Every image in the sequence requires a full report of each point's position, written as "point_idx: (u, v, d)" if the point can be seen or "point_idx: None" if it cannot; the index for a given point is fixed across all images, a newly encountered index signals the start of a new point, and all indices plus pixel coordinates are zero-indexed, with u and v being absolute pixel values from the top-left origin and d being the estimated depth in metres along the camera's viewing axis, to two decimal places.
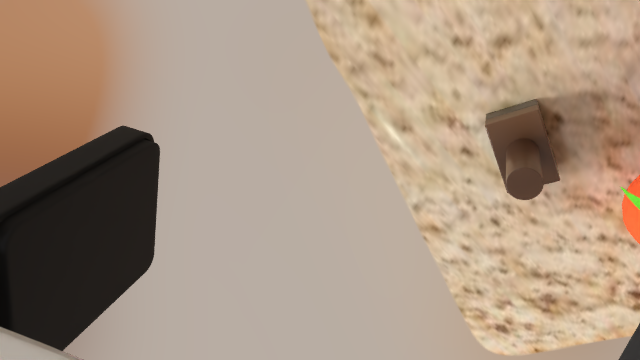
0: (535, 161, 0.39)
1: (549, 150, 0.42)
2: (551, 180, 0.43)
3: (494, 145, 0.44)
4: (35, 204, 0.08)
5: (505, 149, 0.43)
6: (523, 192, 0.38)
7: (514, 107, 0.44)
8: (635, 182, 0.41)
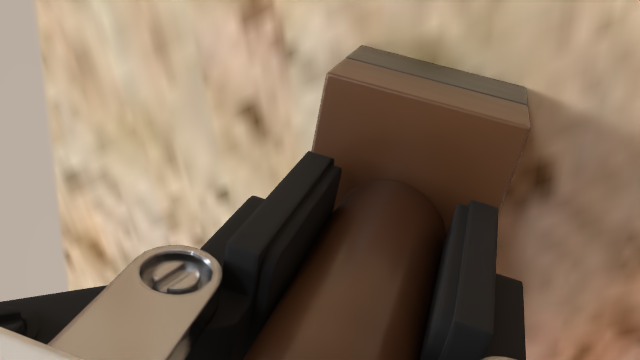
0: (411, 351, 0.08)
1: None
2: None
3: None
4: (283, 232, 0.08)
5: (345, 189, 0.12)
6: None
7: (450, 73, 0.13)
8: None
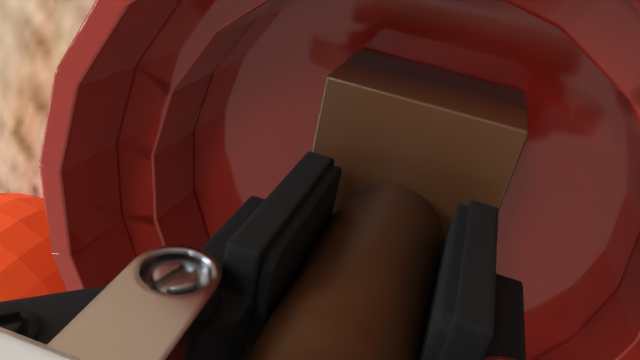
0: (409, 354, 0.08)
1: None
2: None
3: None
4: (283, 232, 0.08)
5: (344, 191, 0.12)
6: None
7: (449, 76, 0.13)
8: None
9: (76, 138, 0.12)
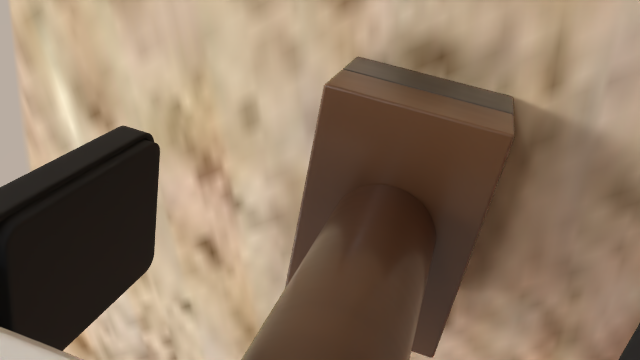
0: (402, 342, 0.09)
1: (460, 271, 0.13)
2: (411, 345, 0.14)
3: (318, 162, 0.12)
4: (35, 204, 0.08)
5: (342, 193, 0.13)
6: None
7: (441, 83, 0.13)
8: None
9: None
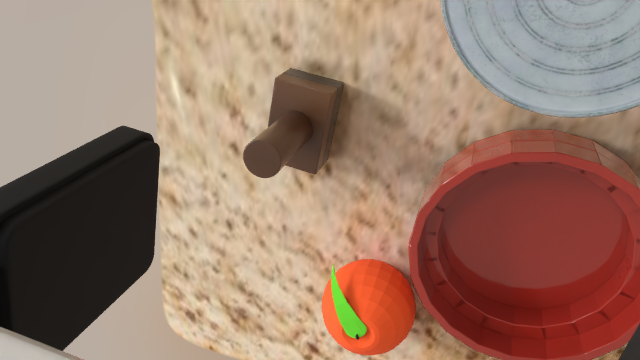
0: (290, 143, 0.34)
1: (321, 140, 0.38)
2: (308, 169, 0.39)
3: (274, 104, 0.38)
4: (35, 204, 0.08)
5: (282, 114, 0.38)
6: (257, 167, 0.33)
7: (318, 78, 0.39)
8: (351, 265, 0.41)
9: (421, 234, 0.36)
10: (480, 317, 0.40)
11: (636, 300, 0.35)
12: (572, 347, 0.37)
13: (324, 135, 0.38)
